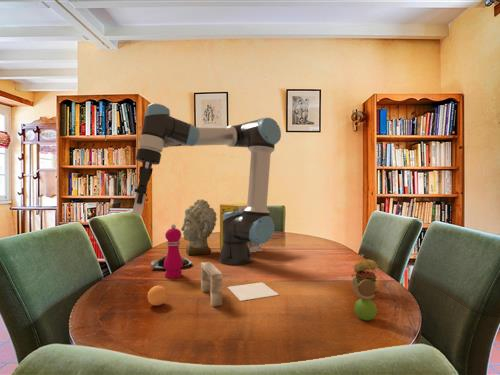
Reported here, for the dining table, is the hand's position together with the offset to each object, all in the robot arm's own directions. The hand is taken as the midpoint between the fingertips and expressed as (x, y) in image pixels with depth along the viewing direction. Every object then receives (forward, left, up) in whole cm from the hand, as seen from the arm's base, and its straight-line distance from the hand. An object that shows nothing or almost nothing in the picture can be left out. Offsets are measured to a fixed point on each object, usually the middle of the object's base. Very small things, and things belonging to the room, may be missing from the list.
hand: (136, 214), depth 94 cm
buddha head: (-31, -53, -26) cm, 67 cm away
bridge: (-21, +11, -26) cm, 35 cm away
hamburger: (-70, +25, -26) cm, 79 cm away
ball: (-5, +11, -23) cm, 26 cm away
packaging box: (-53, -49, -26) cm, 77 cm away
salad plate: (-14, -32, -26) cm, 44 cm away
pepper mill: (-13, -16, -26) cm, 33 cm away
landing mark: (-35, +11, -26) cm, 45 cm away
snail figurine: (-54, +41, -26) cm, 73 cm away
